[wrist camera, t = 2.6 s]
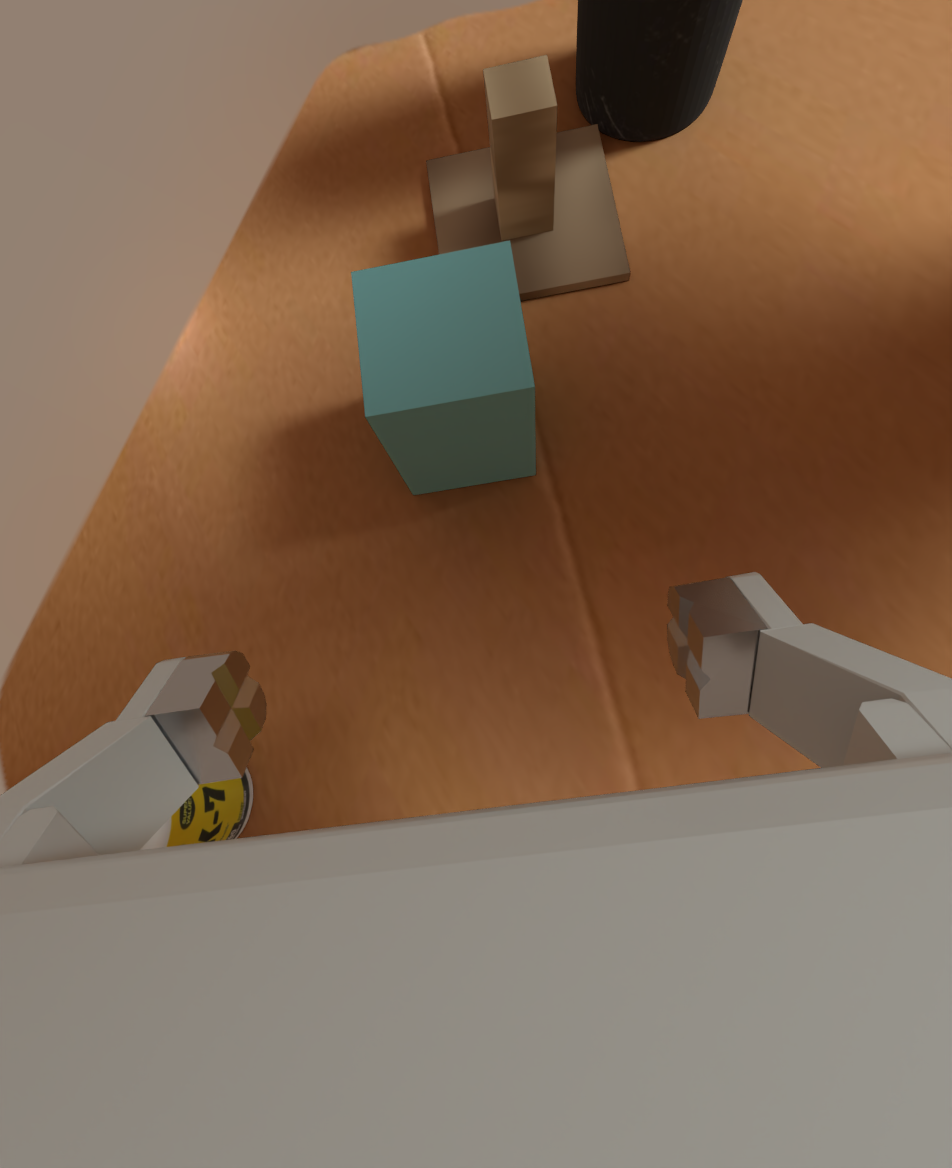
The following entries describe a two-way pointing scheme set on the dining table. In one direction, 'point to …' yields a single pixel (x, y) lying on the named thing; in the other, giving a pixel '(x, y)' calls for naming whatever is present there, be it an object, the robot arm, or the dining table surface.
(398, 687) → the dining table surface
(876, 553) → the dining table surface
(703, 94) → the travel mug
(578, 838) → the robot arm
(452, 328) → the teal rectangular block
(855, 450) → the dining table surface
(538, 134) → the flat square base
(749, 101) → the dining table surface
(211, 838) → the supplement bottle
